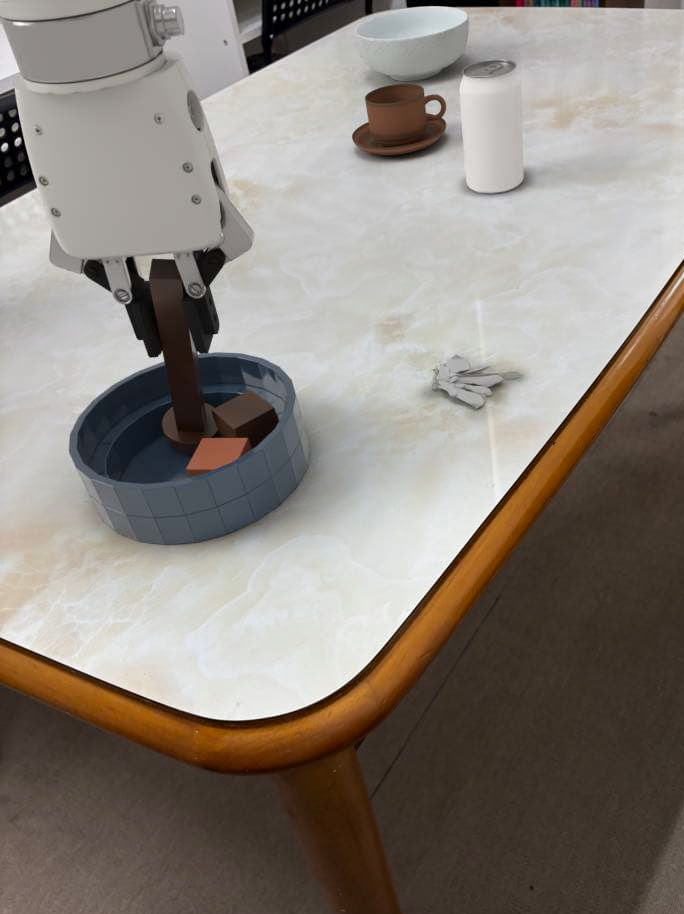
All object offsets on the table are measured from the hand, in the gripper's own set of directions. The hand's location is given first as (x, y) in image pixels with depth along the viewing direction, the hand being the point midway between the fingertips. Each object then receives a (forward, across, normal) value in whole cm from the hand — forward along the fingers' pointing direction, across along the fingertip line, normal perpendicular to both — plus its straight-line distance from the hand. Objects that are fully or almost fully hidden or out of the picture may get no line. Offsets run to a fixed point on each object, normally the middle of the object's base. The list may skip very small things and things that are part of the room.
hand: (182, 342), depth 58 cm
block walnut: (+10, -3, -1) cm, 10 cm away
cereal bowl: (+12, -16, -93) cm, 95 cm away
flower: (+10, -20, -7) cm, 23 cm away
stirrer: (+9, +2, -2) cm, 10 cm away
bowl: (+11, +1, +1) cm, 11 cm away
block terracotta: (+10, -2, +4) cm, 11 cm away
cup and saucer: (+12, -13, -63) cm, 65 cm away
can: (+11, -24, -47) cm, 54 cm away
